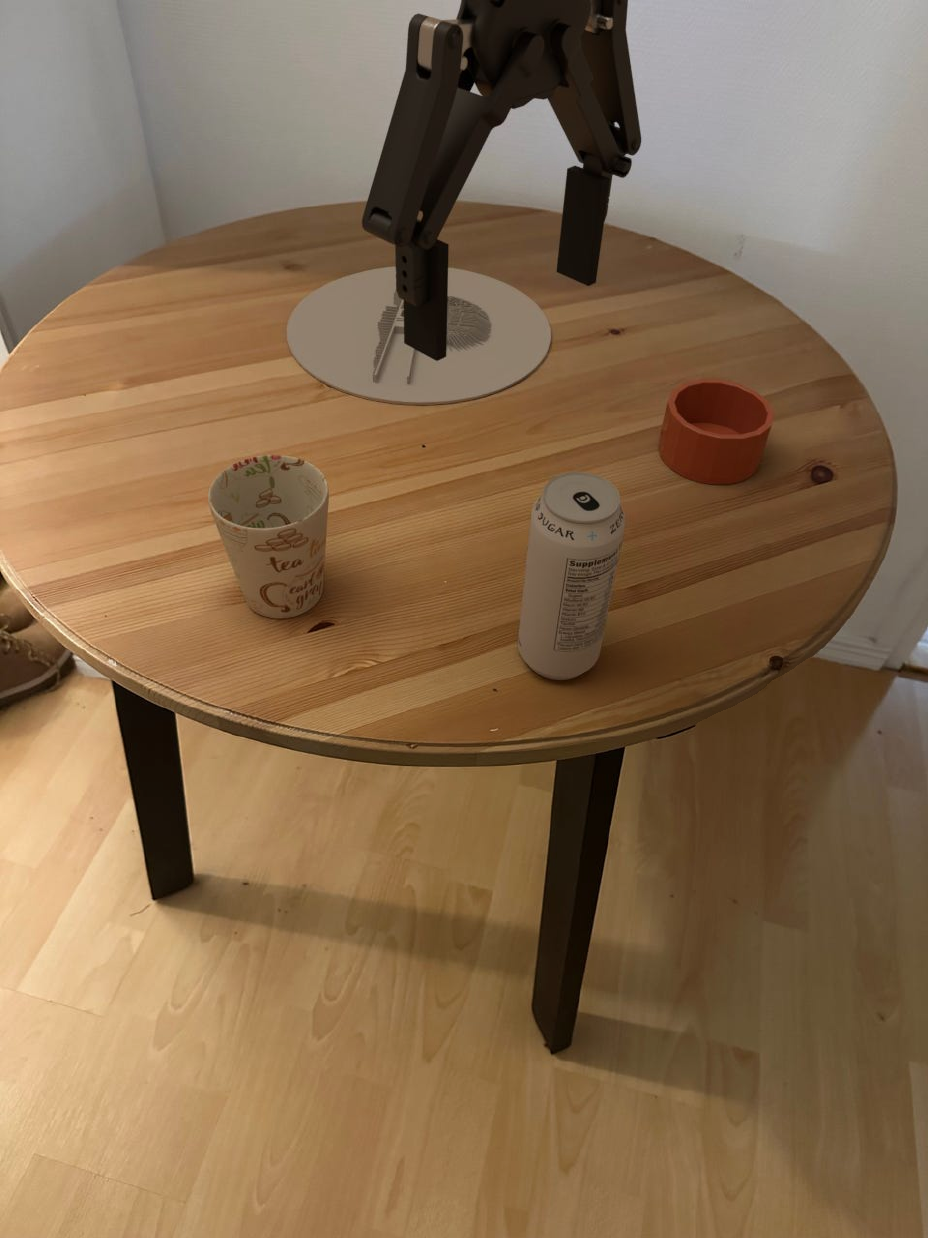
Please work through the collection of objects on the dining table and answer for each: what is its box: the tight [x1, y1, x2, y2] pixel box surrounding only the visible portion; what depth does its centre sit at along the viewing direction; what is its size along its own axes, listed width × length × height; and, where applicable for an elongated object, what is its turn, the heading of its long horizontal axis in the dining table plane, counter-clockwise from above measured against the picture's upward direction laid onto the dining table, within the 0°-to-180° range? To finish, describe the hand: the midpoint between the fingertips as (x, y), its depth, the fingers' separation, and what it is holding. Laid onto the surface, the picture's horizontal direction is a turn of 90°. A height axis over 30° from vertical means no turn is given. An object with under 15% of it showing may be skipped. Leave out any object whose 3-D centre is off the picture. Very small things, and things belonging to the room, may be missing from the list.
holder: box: [658, 378, 775, 486], centre depth 86 cm, size 9×9×5 cm
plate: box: [286, 265, 552, 406], centre depth 101 cm, size 28×28×1 cm
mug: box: [207, 454, 330, 620], centre depth 72 cm, size 8×13×10 cm, turn 14°
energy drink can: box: [517, 471, 627, 681], centre depth 65 cm, size 6×6×15 cm
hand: (505, 312), depth 58 cm, fingers open, 13 cm apart
